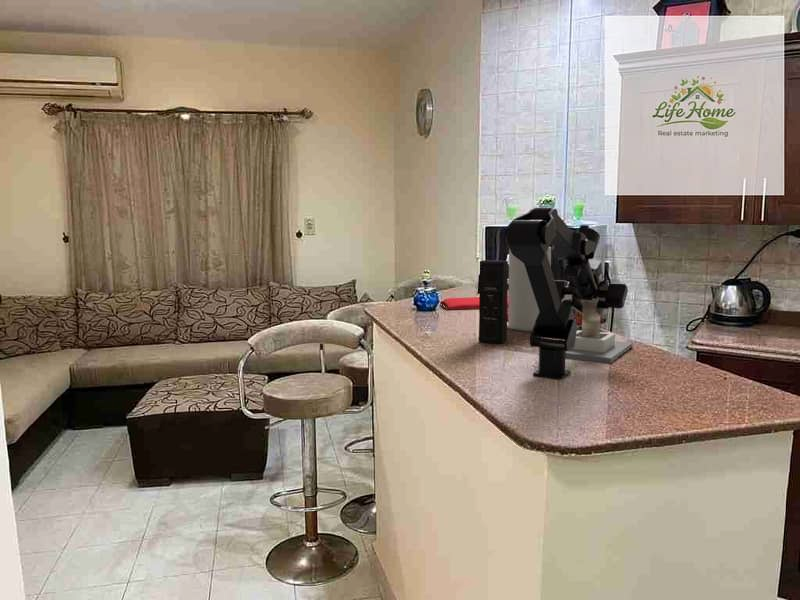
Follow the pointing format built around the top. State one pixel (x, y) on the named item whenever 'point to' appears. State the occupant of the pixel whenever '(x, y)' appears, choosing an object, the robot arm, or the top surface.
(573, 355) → the socket board
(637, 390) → the top surface
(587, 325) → the birch pin
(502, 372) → the top surface
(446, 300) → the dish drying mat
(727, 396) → the top surface
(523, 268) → the cylinder vase
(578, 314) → the dragon fruit
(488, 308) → the portable radio
